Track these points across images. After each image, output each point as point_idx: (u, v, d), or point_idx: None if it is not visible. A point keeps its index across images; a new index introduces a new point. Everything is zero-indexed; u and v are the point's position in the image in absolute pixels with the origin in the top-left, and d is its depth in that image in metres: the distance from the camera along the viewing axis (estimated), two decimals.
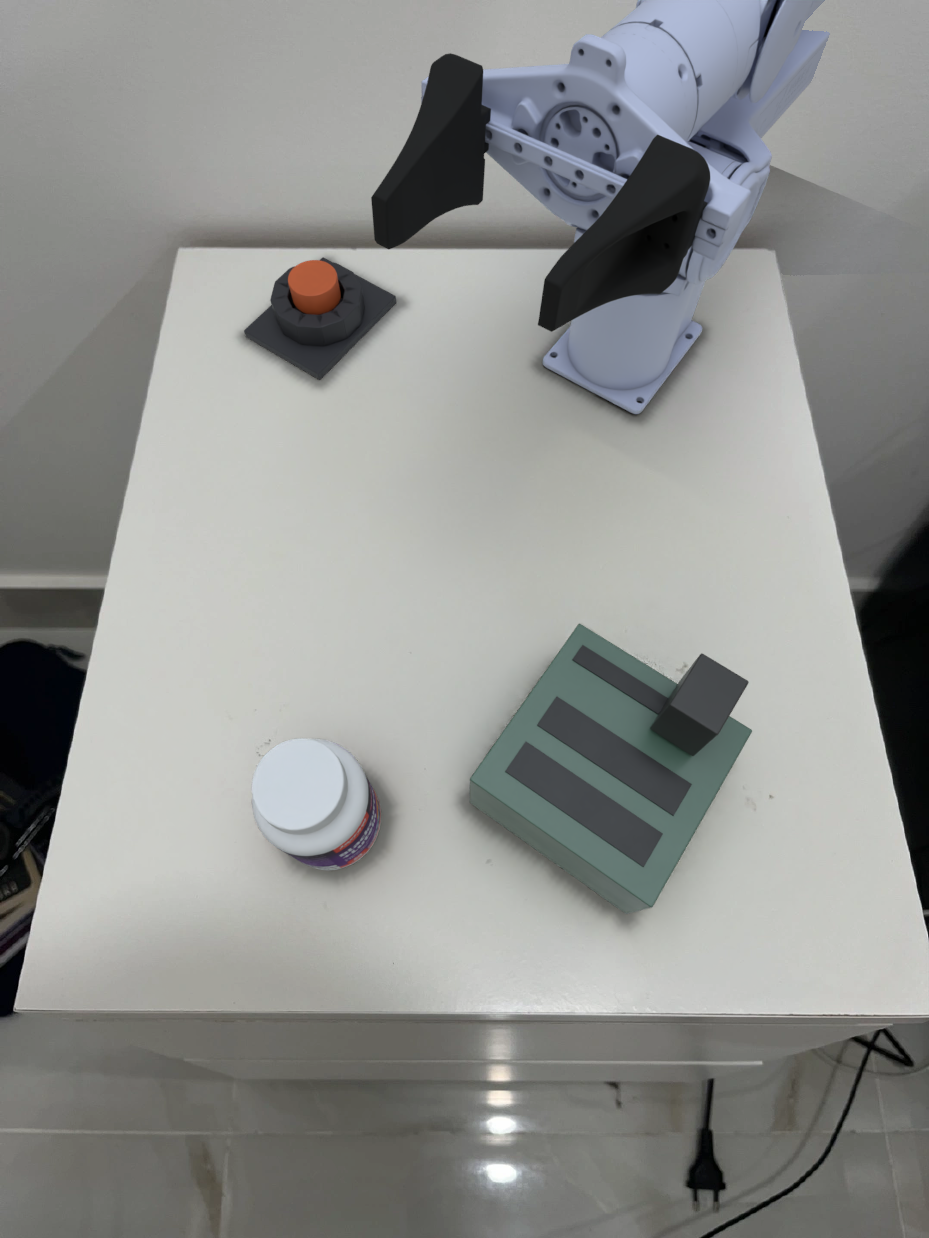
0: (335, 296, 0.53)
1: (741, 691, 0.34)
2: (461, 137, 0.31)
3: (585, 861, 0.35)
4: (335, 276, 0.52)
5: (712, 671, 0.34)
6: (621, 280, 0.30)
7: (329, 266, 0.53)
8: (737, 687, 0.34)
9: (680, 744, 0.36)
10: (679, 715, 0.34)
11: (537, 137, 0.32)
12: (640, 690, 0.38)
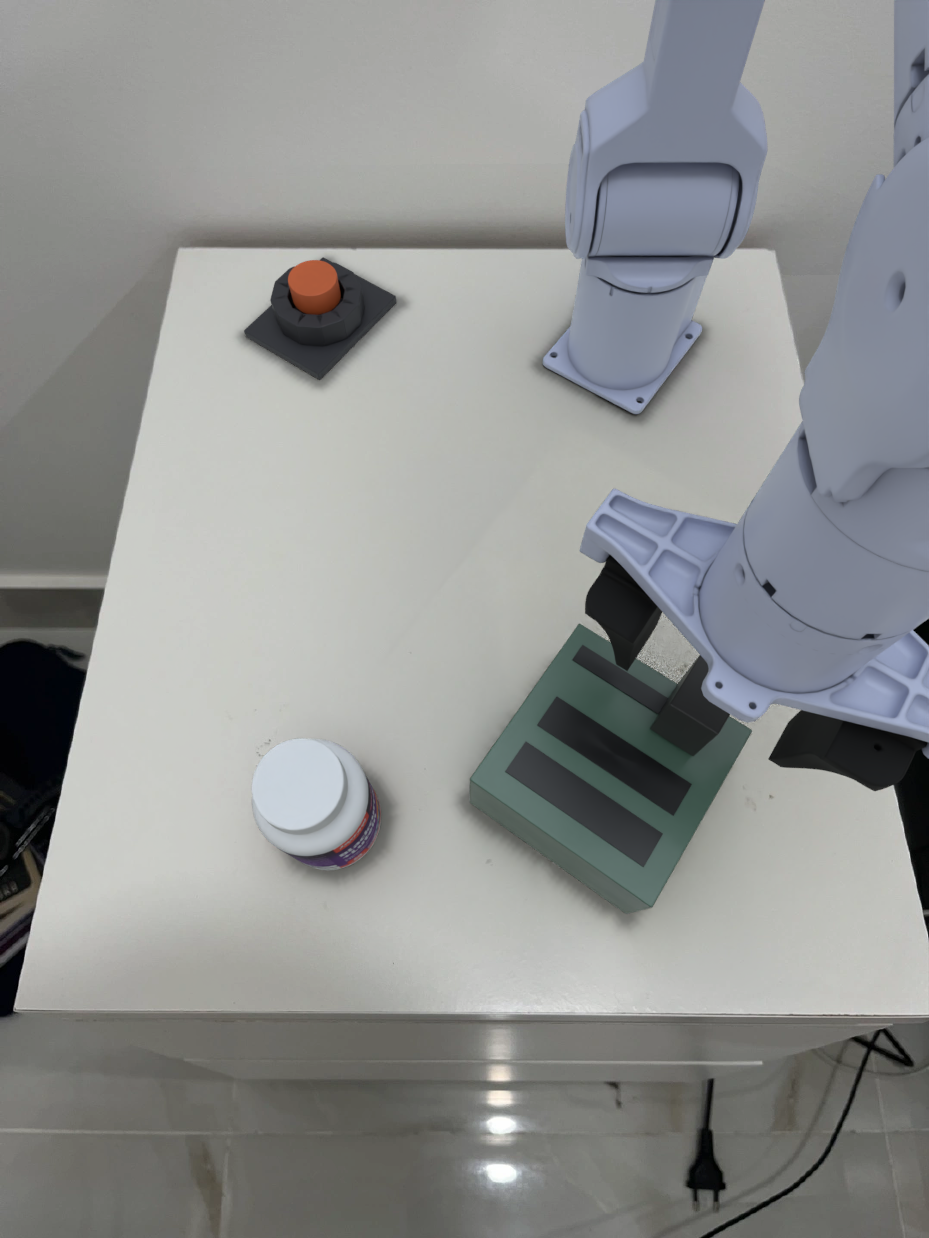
0: (335, 296, 0.53)
1: None
2: (649, 620, 0.30)
3: (585, 861, 0.35)
4: (335, 276, 0.52)
5: None
6: None
7: (329, 266, 0.53)
8: None
9: (680, 744, 0.36)
10: (679, 715, 0.34)
11: None
12: (640, 690, 0.38)
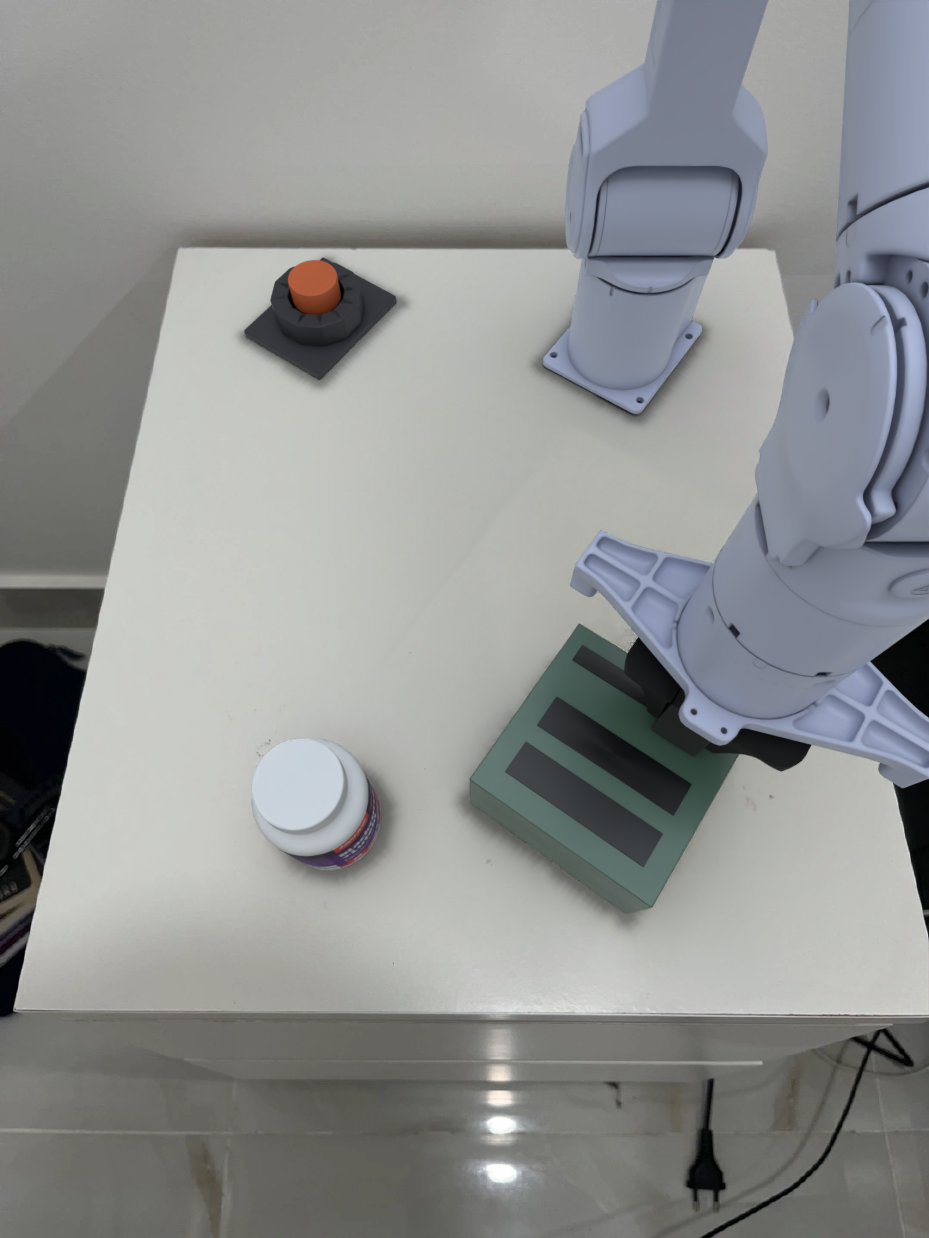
0: (335, 296, 0.53)
1: None
2: None
3: (585, 861, 0.35)
4: (335, 276, 0.52)
5: None
6: None
7: (329, 266, 0.53)
8: None
9: (681, 745, 0.36)
10: None
11: None
12: (640, 690, 0.38)
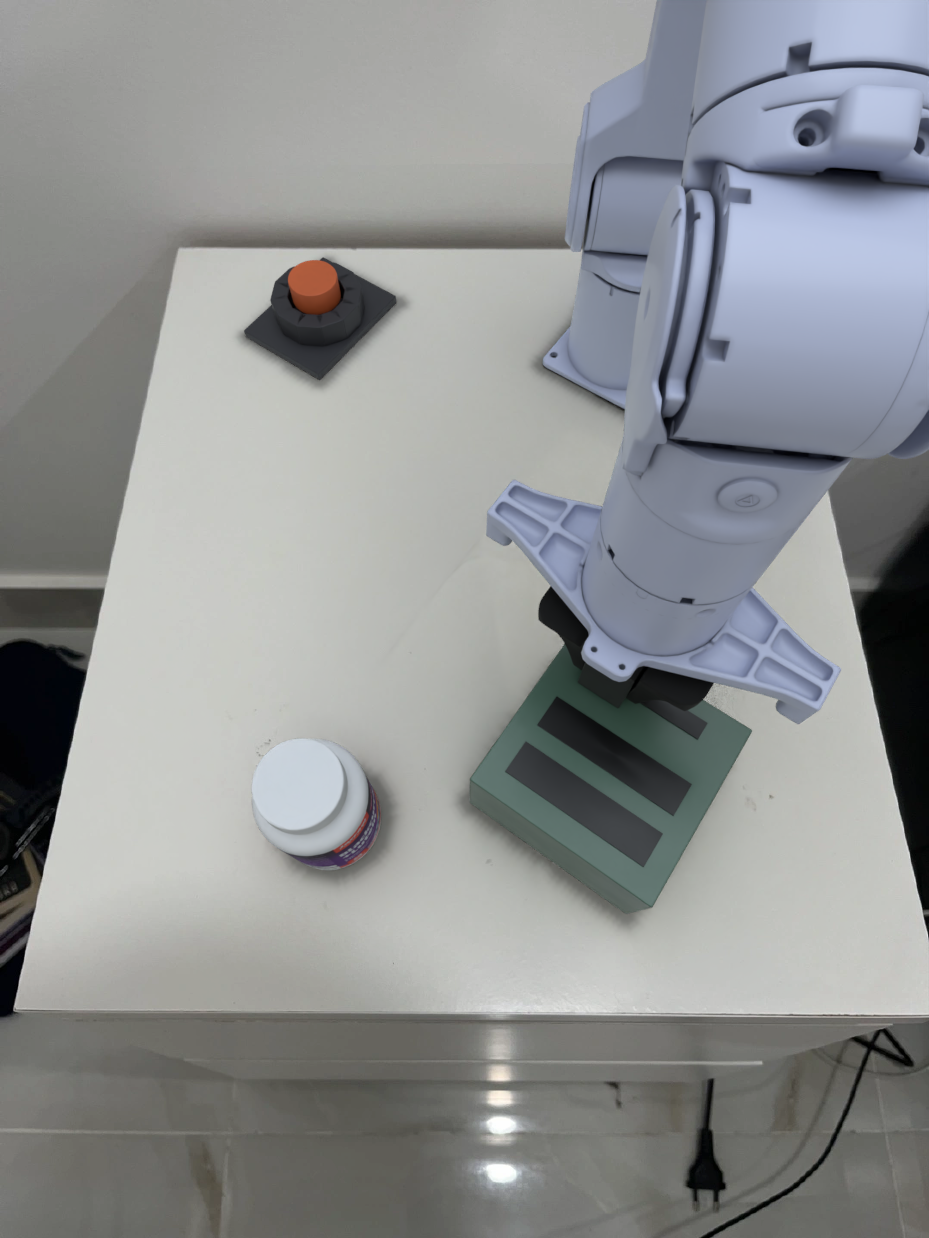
0: (335, 296, 0.53)
1: None
2: None
3: (585, 861, 0.35)
4: (335, 276, 0.52)
5: None
6: None
7: (329, 266, 0.53)
8: None
9: (605, 696, 0.37)
10: None
11: None
12: None
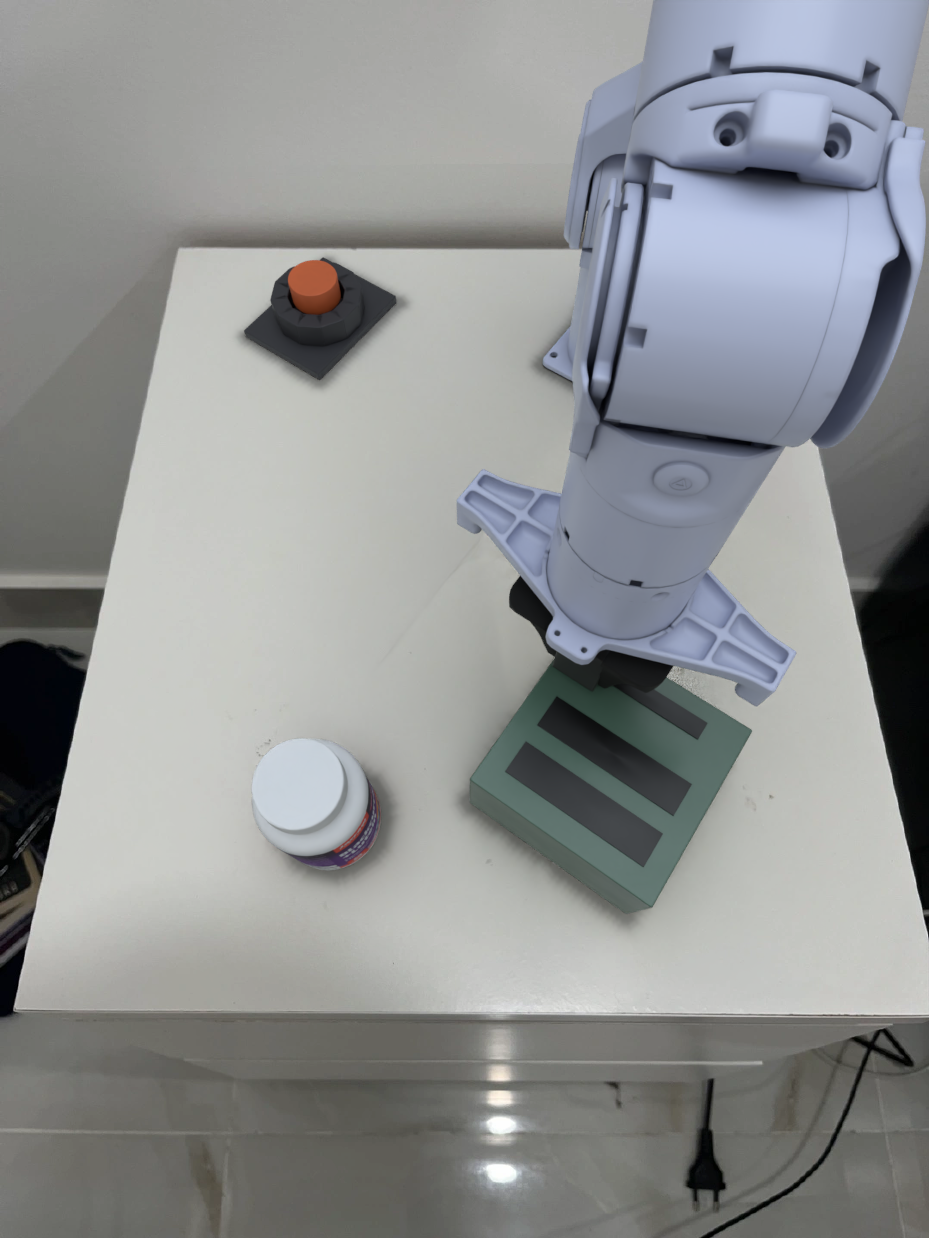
0: (335, 296, 0.53)
1: None
2: None
3: (585, 861, 0.35)
4: (335, 276, 0.52)
5: None
6: None
7: (329, 266, 0.53)
8: None
9: (579, 680, 0.37)
10: None
11: None
12: None
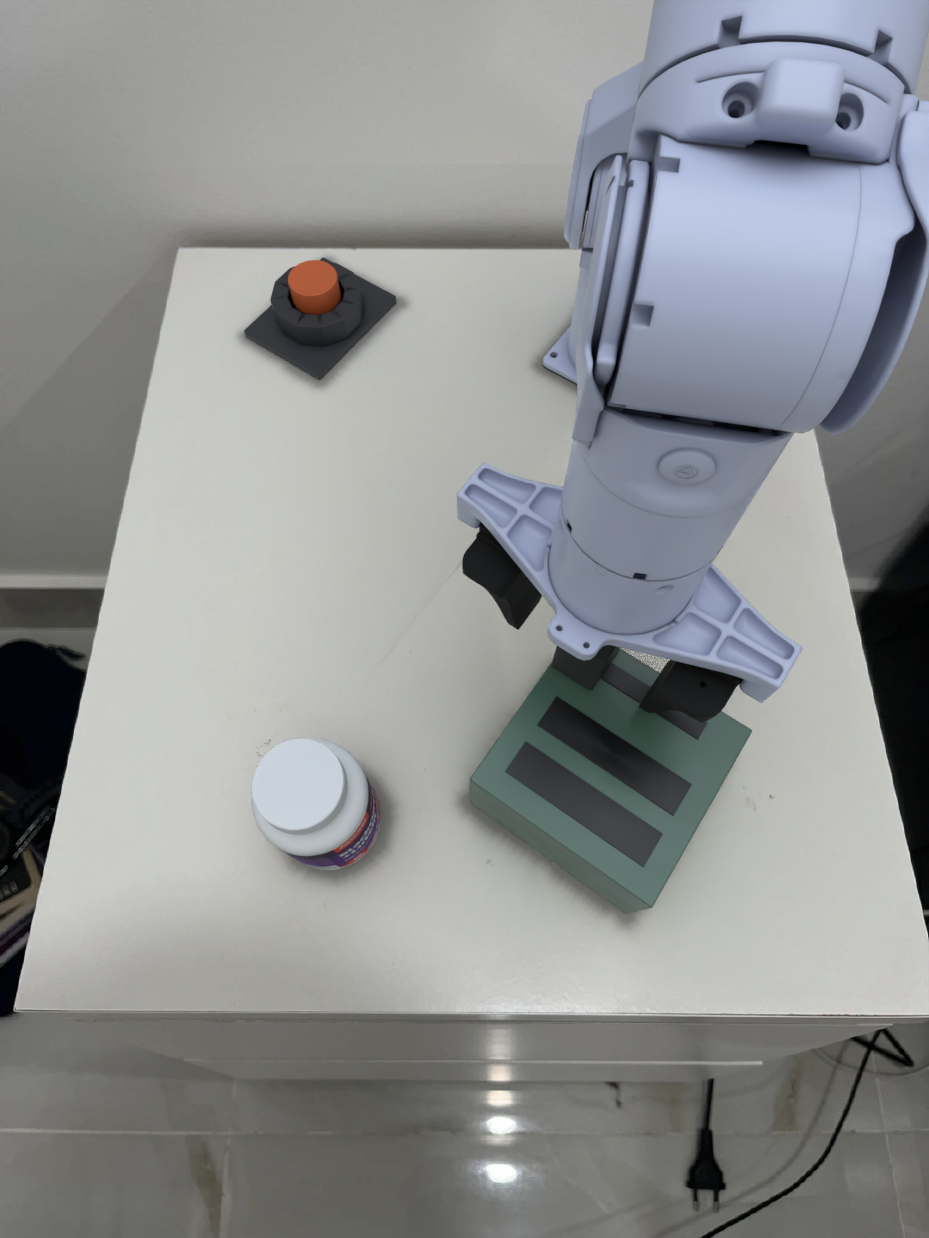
0: (335, 296, 0.53)
1: None
2: (523, 580, 0.34)
3: (585, 861, 0.35)
4: (335, 276, 0.52)
5: None
6: None
7: (329, 266, 0.53)
8: None
9: (578, 679, 0.37)
10: None
11: None
12: (640, 690, 0.38)
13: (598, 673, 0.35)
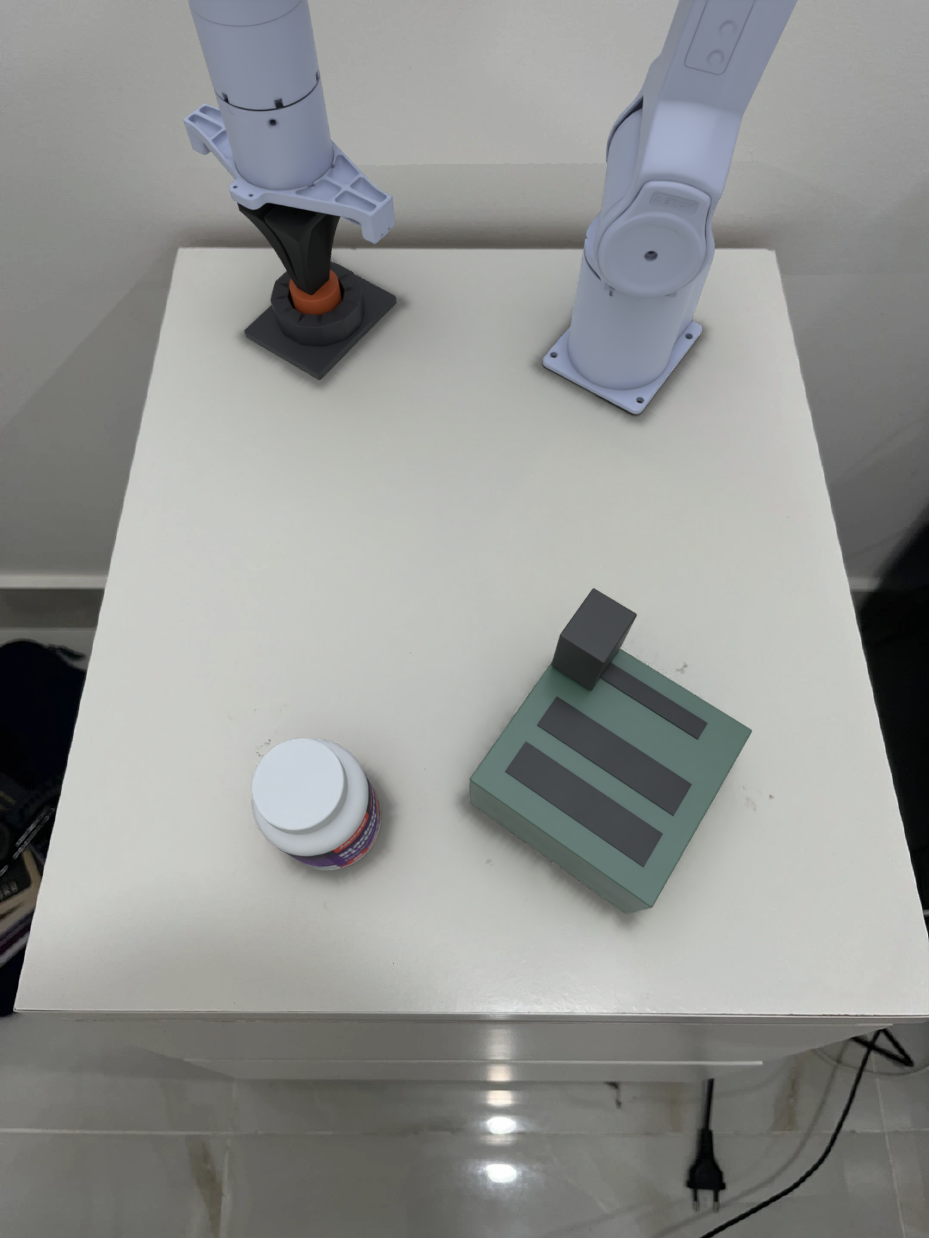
0: (336, 302, 0.53)
1: (629, 623, 0.35)
2: None
3: (585, 861, 0.35)
4: (336, 282, 0.53)
5: (602, 604, 0.35)
6: (327, 227, 0.49)
7: (330, 272, 0.53)
8: (625, 620, 0.35)
9: (578, 679, 0.37)
10: (570, 646, 0.35)
11: None
12: (640, 690, 0.38)
13: (598, 673, 0.35)
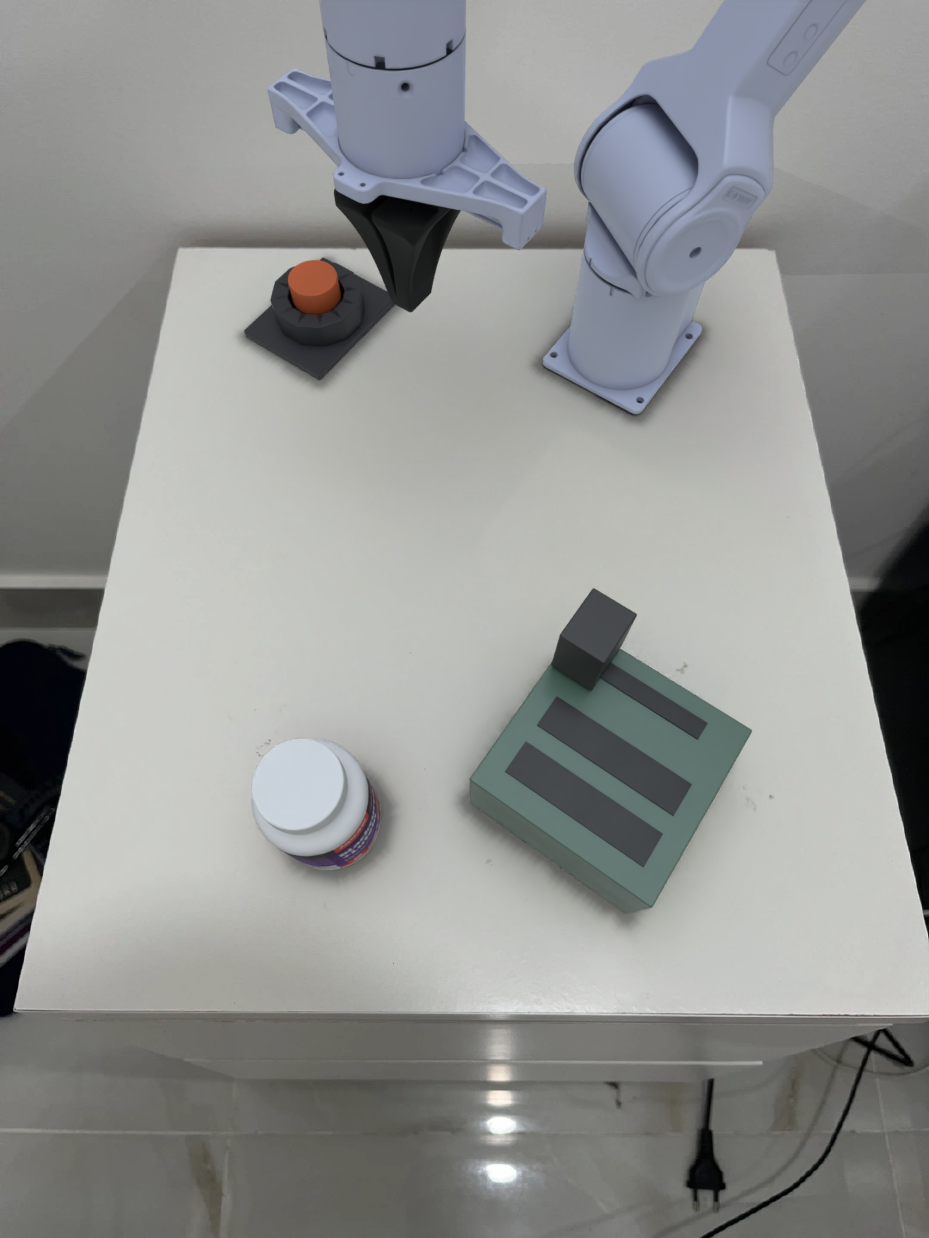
0: (335, 296, 0.53)
1: (629, 623, 0.35)
2: None
3: (585, 861, 0.35)
4: (335, 276, 0.52)
5: (602, 604, 0.35)
6: (440, 228, 0.39)
7: (329, 266, 0.53)
8: (625, 620, 0.35)
9: (578, 679, 0.37)
10: (570, 646, 0.35)
11: None
12: (640, 690, 0.38)
13: (598, 673, 0.35)
